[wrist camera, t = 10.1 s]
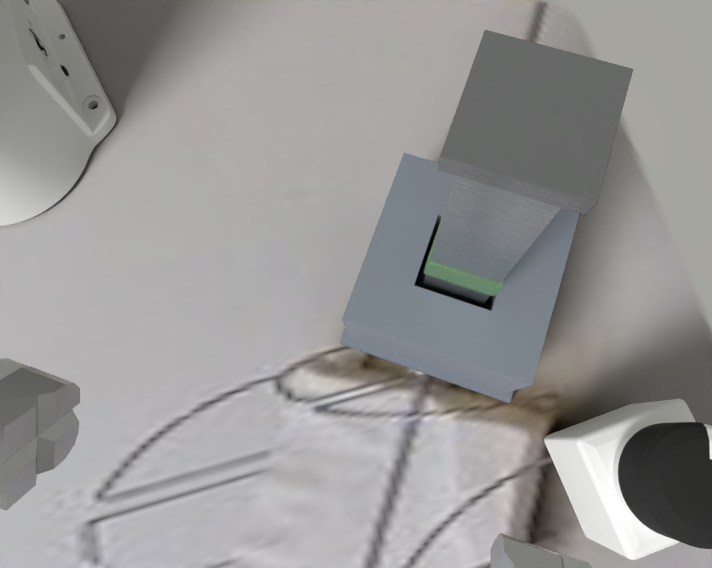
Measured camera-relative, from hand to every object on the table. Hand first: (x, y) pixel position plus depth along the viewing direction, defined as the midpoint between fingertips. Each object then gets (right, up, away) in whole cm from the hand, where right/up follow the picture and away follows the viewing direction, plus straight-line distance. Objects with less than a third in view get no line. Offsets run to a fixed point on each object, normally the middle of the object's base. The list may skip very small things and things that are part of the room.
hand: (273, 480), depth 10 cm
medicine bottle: (+19, -9, +29) cm, 36 cm away
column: (+8, +5, +25) cm, 27 cm away
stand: (+9, +3, +32) cm, 33 cm away
